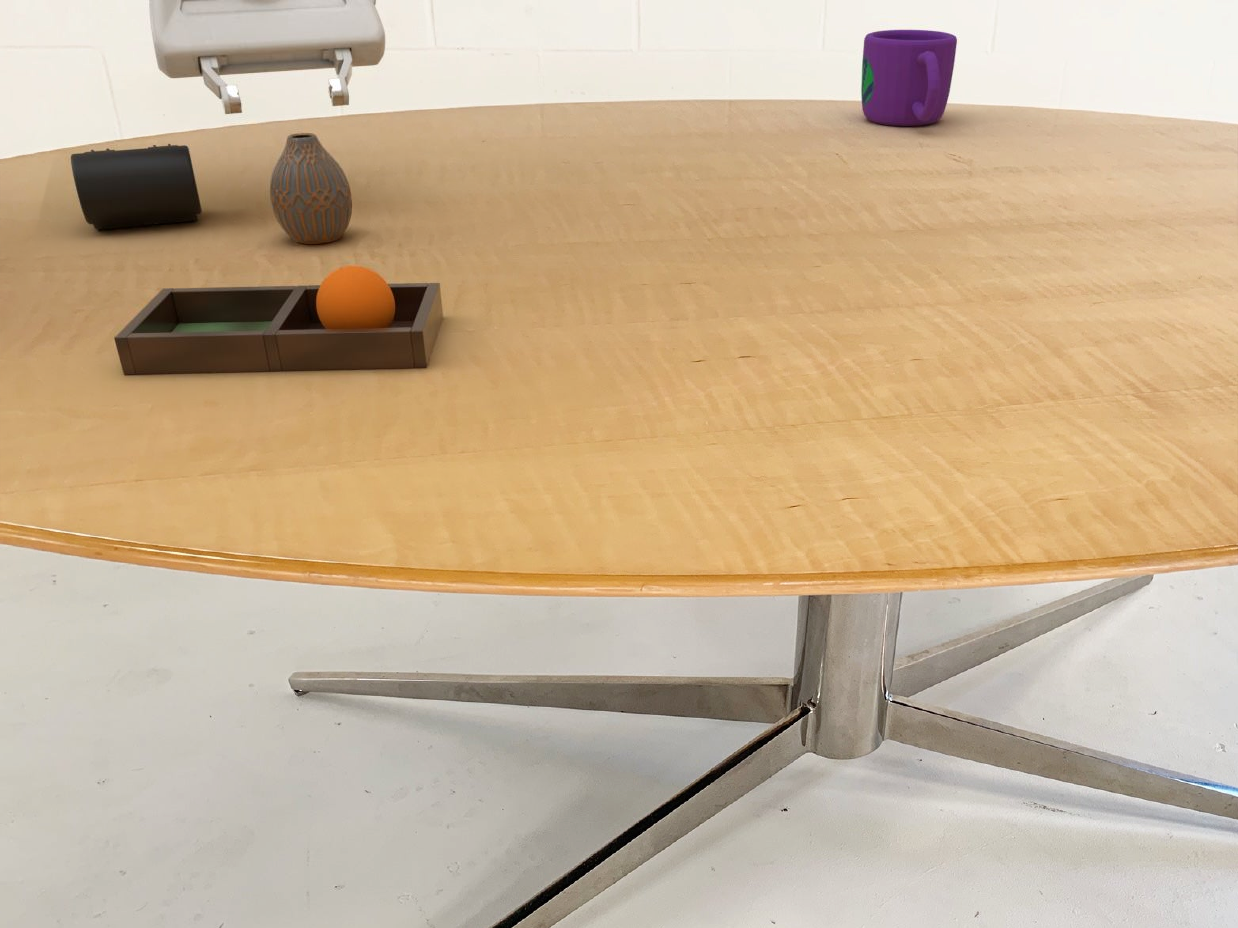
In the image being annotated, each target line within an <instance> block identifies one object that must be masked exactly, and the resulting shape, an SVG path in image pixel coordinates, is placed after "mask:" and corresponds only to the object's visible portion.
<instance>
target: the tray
mask: <svg viewBox="0 0 1238 928" xmlns="http://www.w3.org/2000/svg"><path fill="white" fill-rule="evenodd" d="M387 284H388V286H389V287H390V289H391V291H392V293H393V296H394V301H395V314H394V319H393V322H392V324H391V326H390V328H359V329H325V327H324V326H323V325H322V323H321V321H320V319H319V316H318V313H317V307H316V298H317V293H318V290H319V287H320V285H321V284H313V285H311V284H309V285H308V284H307V285H270V286H268V285H265V286H223V287H222V286H219V287H216V286H215V287H176V288H173V287H169V288H168V287H167V288H166V287H165V288H162V289H161V290H160V291H159V292H158V293H157V294H156V295H155V296H154V297H153V298H152V299H151V300H150V301H149V302H148V303H147V304H146V305H145V306H144V307H143V308H142V309H141V310H140V311H139V312H138V313H137V314H136V315H135V316H134V317H133V318H132V320H130V321H129V322H128V323H127V324H126V325H125V326H124V328H122V329H121V330H120V331H119V333H117V334H116V335H115V336H114V343H115V347H116V350H117V355H118V358H119V362H120V365H121V369H122V373H123V375H124V376H125V377H126V376H162V375H164V376H167V375H168V376H169V375H206V374H207V375H208V374H209V375H210V374H247V373H249V374H250V373H252V374H253V373H289V372H290V373H292V372H294V373H295V372H298V373H299V372H334V371H335V372H337V371H338V372H340V371H373V370H374V371H376V370H377V371H378V370H381V371H382V370H383V371H384V370H415V369H416V370H420V369H421V370H422V369H423V370H424V369H425V370H426V369H428V366H429V363H430V360H431V357H432V354H433V350H434V347H435V344H436V341H437V338H438V335H439V333H440V328H441V326H442V322H443V320H444V311H443V302H442V292H441V283H440V282H412V283H411V282H410V283H409V282H408V283H405V282H404V283H387Z"/></svg>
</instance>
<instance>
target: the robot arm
mask: <svg viewBox="0 0 1238 928" xmlns="http://www.w3.org/2000/svg"><path fill="white" fill-rule="evenodd" d="M376 4H377V0H149V7H148V8H149V20H150V29H151V30H150V31H151V35H152V42H153V48H154V54H155V59H156V63H157V68H158V70H159V71H160V72H162V73H163V74H164V75H165V76H166V77H168V78H170V79H182V78H184V79H185V78H201V77H202V79H203V84H204V85H205V86H206V87H207V89H209V91H210V92H212V94H214V95H215V96H216V97H217V98H218V99H219V100H221V103H222V108H223V111H224V115H232V114H242V113H243V109H242V108H243V106H242V100H241V96H240V92H239V88H238V85H236V84H233V85H230V84H229V85H228V84H227V83H226V82H225V81H224V80H223V78H221V76H230V75H232V76H233V75H245V74H247V75H248V74H260V73H261V74H262V73H277V72H292V71H305V70H306V71H307V70H309V71H310V70H323V69H334V71H335V73H336V75H337V77H336V78H335V77H334V78H328V96H329V98H330V103H331V106H332V107H341V106H342V107H343V106H349V105H350V93H349V89H348V85H349V83H350V80H351V77H352V75H353V67H370V66H377V65H379V64H380V62H381V61H382V59H383V58H384V55H385V50H386V33H385V29H384V25H383V22H382V20H381V16H380V14H379V11H378V9H377V7H376Z"/></svg>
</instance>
